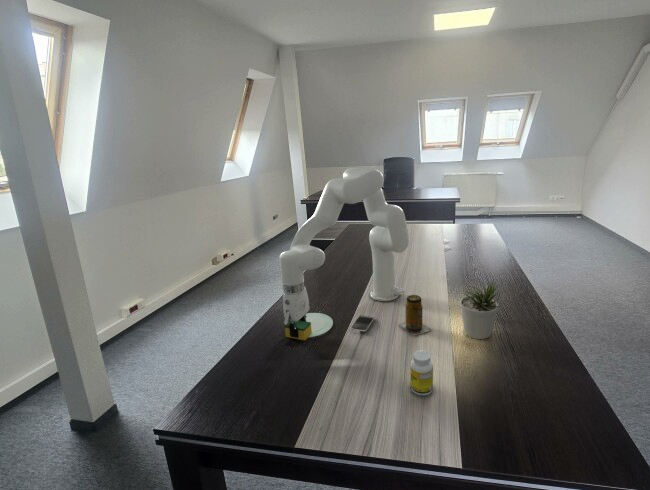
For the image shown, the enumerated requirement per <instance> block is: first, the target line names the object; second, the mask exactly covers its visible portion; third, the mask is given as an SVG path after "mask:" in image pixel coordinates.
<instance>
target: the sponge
mask: <svg viewBox="0 0 650 490" xmlns="http://www.w3.org/2000/svg"><path fill="white" fill-rule="evenodd" d="M291 323H292V324H294V321H291ZM296 327H298V335H299V337H298V338H295V337H291V336H290V330H289V328H288V326H285V325H284V334H285V337H286V338H291V339H295V340H301V341H306V340H308V338H310V337H309V336H310V335H311V334H312V330H311V322H306V321H301V320H298V321H297V326H296Z"/></svg>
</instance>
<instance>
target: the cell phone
mask: <svg viewBox="0 0 650 490" xmlns="http://www.w3.org/2000/svg"><path fill="white" fill-rule="evenodd" d="M374 321H375V316H369V315H368V316H367V315H359V316H358V317H357V318H356V320H355V321H354V323H352V325H351V326H350V330H352V331H359V333H360V334H366V333H367V331H368V330H369V328H370V327H371V325H372V324H373V323H374Z"/></svg>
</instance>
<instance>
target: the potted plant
mask: <svg viewBox="0 0 650 490" xmlns="http://www.w3.org/2000/svg"><path fill="white" fill-rule="evenodd" d="M479 283H480V284H481V286H482V289H483V291H482V290H480V289H479V288H477V287H476V286H471V288H472V290H470V289H469V291H465V293H462V294H463V295H465V296H464V297H462V298H461V299H460V300H459V307H460V310H461V318H462V324H463V331H464V333H465V335H467V336H468V337H469V338H472V339H475V340H486V339H487V338H490V336H491V335H492V331H493V328H494V324H495V321H496V316H497V313H498V311H499V308H500V307H501V305H499V303H498V302H497V300H498V299H499V298H500V296H498V297H497V298H496V299H495V300H494V298H495V297H496V296H497V295H499V292H496V293H495V291H496V289H497V288H498V285H496V283H494V281H492V282H489V281H488V282H487V287H485V286H484V285H483V283H482V282H481V281H479Z"/></svg>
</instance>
